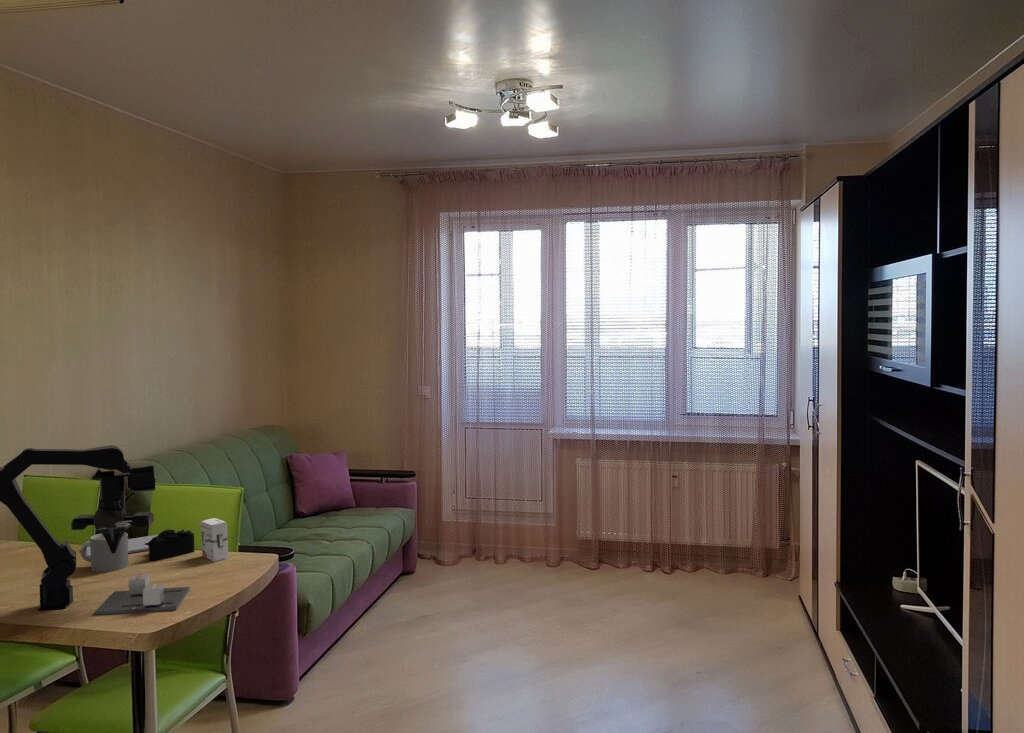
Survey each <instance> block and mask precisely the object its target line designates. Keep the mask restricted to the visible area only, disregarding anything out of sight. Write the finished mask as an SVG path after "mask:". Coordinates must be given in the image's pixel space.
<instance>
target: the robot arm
mask: <svg viewBox="0 0 1024 733" xmlns="http://www.w3.org/2000/svg"><path fill="white" fill-rule="evenodd" d="M124 456H125V455H124V452H123V451H122V449H121V448H120V447H119V446H117V445H112V444H111V445H104V446H97V447H92V448H87V449H75V448H72V449H67V448H66V449H64V448H63V449H61V448H57V449H56V448H34V447H33V448H32V447H27V448H25V449H23V450H22V451H21V453H19V454H18V455H17V456H15V457H14V458H13V459H11V460H10V461H8V462H7V463H6V464H5V465H4V466H2V467H0V503H1V504H3V505H5V506H6V507H7V508H8V509H9V511H10V512H11V513H12V515H13V516H14V517H15V518H16V519H17V521H18V522H19V523H20V525H21V526H22V528H23V529H24V530H25V532H26V533H27V534H28V535H29V536H30V538H31V539H32V541H33V542H34V544H36V546H37V547H38V548H39V550H40V551H41V554H42V556H43V559H44V561H45V564H46V566H47V567H46V568H45V569H44V570H43V571H42V574H41V578H40V584H39V607H37V608H36V610H37V611H52V610H65V609H67V607H68V606H70V605H71V604H72V603H73V602H74V589H73V588H74V586H73V585H71V579H69V578H70V576H72V575H73V574H74V573H75V572H76V568H77V551H76V550H74V549H73V548H72V546H71V545H70V543H69V541H68V540H65V541H64V542H63V543H62V542H60V541H59V540H58V539H56V537H55V536H54V535H53V534H52V532H51V530H49V528H48V527H47V526H46V525H45V523H44V522H43V521H42V519H41V518H40V516H39V515H38V514H37V513H36V511H35V510H34V508H32V506H31V505H30V503H29V502H28V501H27V500H26V498H25V497H24V495H23V493H22V491H21V488H20V486H19V483H18V481H17V479H16V478H18V476H20V475H21V474H22V473H24V472H25V471H26V470H27V469H28V468H29V467H31V466H32V465H34V466H35V465H36V466H37V465H38V466H39V465H42V466H43V465H44V466H49V465H52V466H54V465H55V466H56V465H57V466H69V465H71V466H87V467H92V468H96V471H95V472H94V473H93V474H92V475H91V479H92V480H99V495H100V496H99V498H100V499H99V501H98V502H99V503H98V507H97V510H96V512H95V513H94V514H93V513H92V514H79V515H77V516H76V517H74V518H73V519H72V520H71V523H70V524H71V525H70V528H71V529H70V530H71V531H79V530H85V529H86V528H87V527H88V526H94V528H95V532H96V533H99V534H102V535H103V536H104V538H105V539H106V541H107V543H108V546H109V548H110V550H111V553H112V554H115V553H116V552H117V549H118V546H119V544H120V541H121V538H122V536H123V534H124V532H126V531H127V530H128V529H129V528H130V527H131V526H133V527H135V528H140V527H141V528H143V527H144V528H145V527H150V526H151V524H153V523H154V520H155V518H154V517H155V516H154V513H152V511H141V512H140V511H139V512H136V513H135V514H133V515H127V510H126V501H125V500H126V498H127V495H125V493H126V490H125V478H126V489H127V490H130V491H131V493H141V492H142V493H143V492H153V491H156V477H155V470H154V469H155V466H154V465H153V464H148V465H141V466H131V464H130V462H127V460H125V457H124ZM115 470H116V471H118V472H117V473H115ZM68 577H69V578H68Z"/></svg>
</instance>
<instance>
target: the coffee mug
mask: <svg viewBox="0 0 1024 733" xmlns="http://www.w3.org/2000/svg"><path fill="white" fill-rule="evenodd" d="M128 534H129V533H127V532H126V531H125V532H124V534H123V536H122V538H121V541H120V544H119V546H118V549H117V552H116V553H115V554H112V553H111V550H110V548H109V546H108V543H107V541H106V539H105V538H104V536H103V535H102V534H101V533H96V534H94V535H92V536H90V538H89V540H88V541H85V542H84V543H82V545H81V547H80V553H81V557H82V559H83V560H84V561H85V562H88V563H90V570H91V571H93V572H95V573H107V572H110V573H111V572H116V571H120V570H124V569H126V568H127V567H129V554H128V539H129V535H128ZM88 546H89V547H90V549H91V556H89V555H88V554H87V547H88Z"/></svg>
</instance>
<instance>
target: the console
mask: <svg viewBox="0 0 1024 733" xmlns="http://www.w3.org/2000/svg"><path fill="white" fill-rule="evenodd" d="M190 589H191V587H190V586H183V587H169V588H168V587H166V588H165V587H164V600H163V601H162V603H161V604H160V605H145V606H143V594H130V595H129V590H116V591H113V592H112V593H111V595H110V596H109V597H108V598H106V599H105V601H104V602H103V603H101V605H100V606H98V608H96V609H95V610H94V616H103V615H117V614H118V615H120V614H135V613H138V614H139V613H140V614H141V613H152V612H153V613H154V612H155V613H157V612H171V611H177V610H178V608H179V607H180V605H182V602H183V601H184V599H185V598H186V597H187V595H188V594H189V593H190V591H191V590H190Z"/></svg>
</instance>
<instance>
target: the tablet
mask: <svg viewBox="0 0 1024 733" xmlns="http://www.w3.org/2000/svg"><path fill="white" fill-rule="evenodd" d="M158 535H159V534H153V535H147V536H141V537H140V536H139V537H136V538H134V537H133V538H128V555H129V554H135V553H142V552H146V551H147V552H149V546H148V545H145V543H148V542H149V541H150V540H152V538H153V537H156V536H158ZM87 554H88V555H89V556H91V549H90V547H89V546H88V547H87Z"/></svg>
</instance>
